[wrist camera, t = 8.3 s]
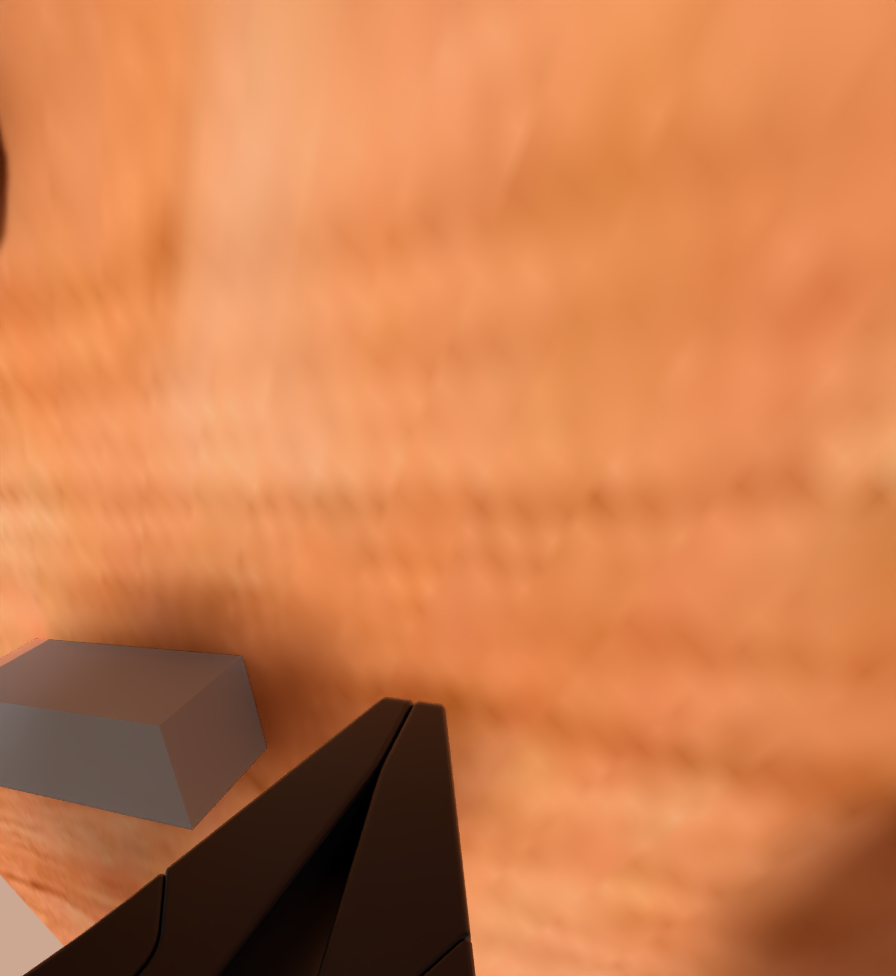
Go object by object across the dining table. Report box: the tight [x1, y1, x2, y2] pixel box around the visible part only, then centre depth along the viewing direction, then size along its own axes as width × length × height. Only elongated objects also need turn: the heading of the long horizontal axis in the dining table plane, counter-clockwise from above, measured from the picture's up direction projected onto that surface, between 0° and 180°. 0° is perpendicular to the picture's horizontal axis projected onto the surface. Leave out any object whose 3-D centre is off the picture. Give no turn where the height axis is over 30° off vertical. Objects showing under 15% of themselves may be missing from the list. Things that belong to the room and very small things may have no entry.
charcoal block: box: [0, 638, 267, 830], centre depth 30 cm, size 5×5×14 cm
